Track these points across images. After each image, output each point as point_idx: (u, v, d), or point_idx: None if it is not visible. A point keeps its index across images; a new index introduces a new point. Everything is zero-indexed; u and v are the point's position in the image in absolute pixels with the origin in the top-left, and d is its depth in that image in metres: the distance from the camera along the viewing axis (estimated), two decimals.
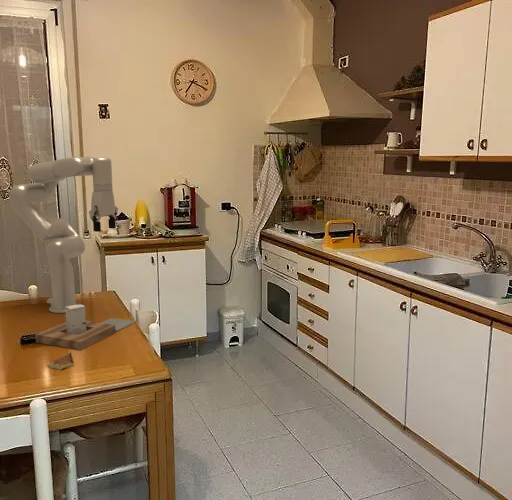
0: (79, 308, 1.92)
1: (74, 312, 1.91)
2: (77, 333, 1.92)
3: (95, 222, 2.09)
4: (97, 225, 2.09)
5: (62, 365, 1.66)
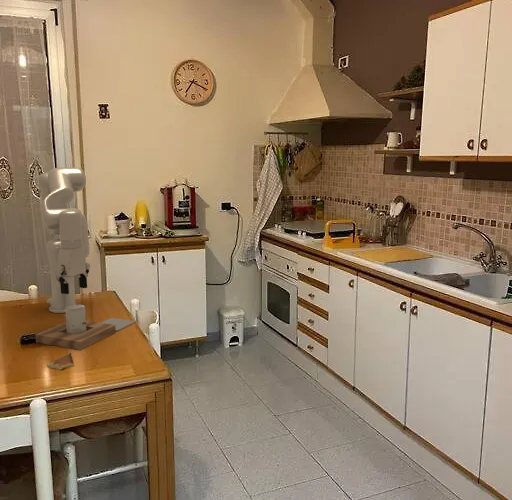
0: (79, 308, 1.92)
1: (74, 312, 1.91)
2: (77, 333, 1.92)
3: (62, 284, 1.85)
4: (65, 287, 1.85)
5: (62, 365, 1.66)
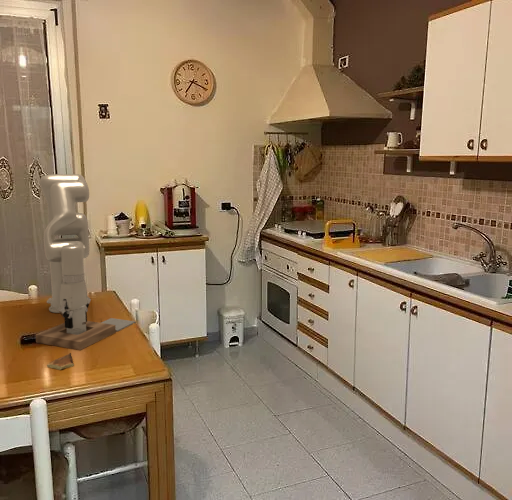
0: (79, 308, 1.92)
1: (74, 312, 1.91)
2: (77, 333, 1.92)
3: (66, 318, 1.89)
4: (69, 322, 1.89)
5: (62, 365, 1.66)
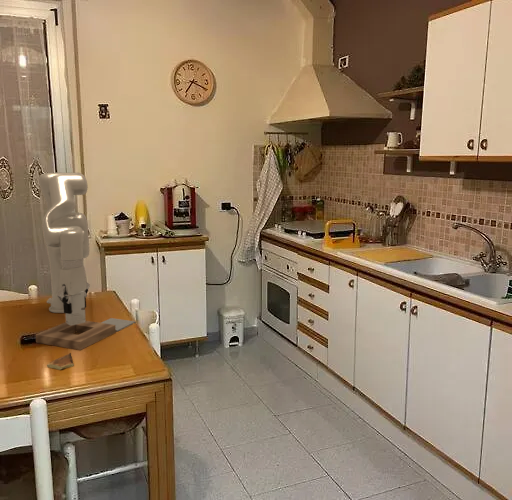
0: (78, 293, 1.91)
1: (73, 297, 1.90)
2: (76, 318, 1.92)
3: (65, 304, 1.88)
4: (68, 307, 1.88)
5: (62, 365, 1.66)
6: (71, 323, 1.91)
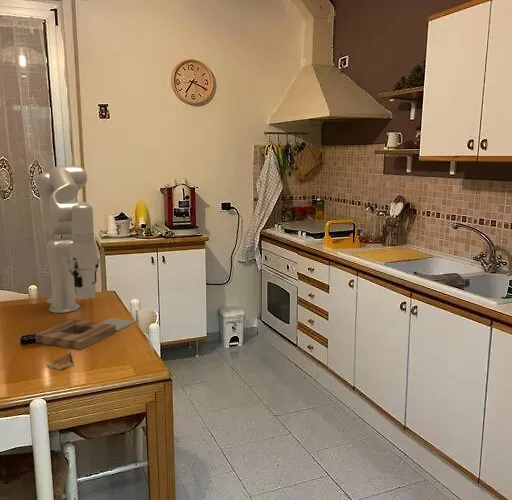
0: (88, 268, 1.93)
1: (83, 271, 1.92)
2: (86, 292, 1.94)
3: (76, 277, 1.90)
4: (78, 280, 1.91)
5: (62, 365, 1.66)
6: (82, 297, 1.93)
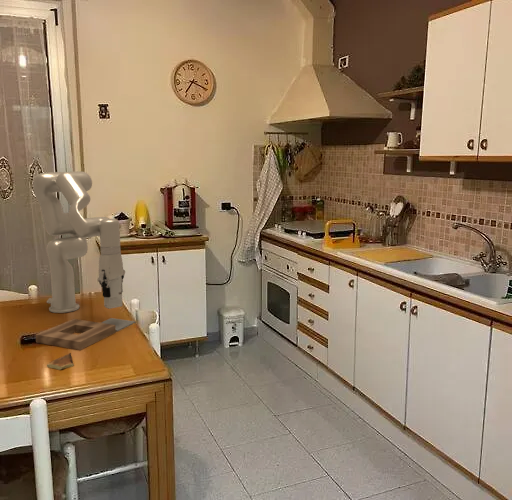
0: (116, 278, 2.04)
1: (111, 282, 2.03)
2: (114, 302, 2.05)
3: (104, 288, 2.01)
4: (106, 291, 2.02)
5: (62, 365, 1.66)
6: (110, 306, 2.04)
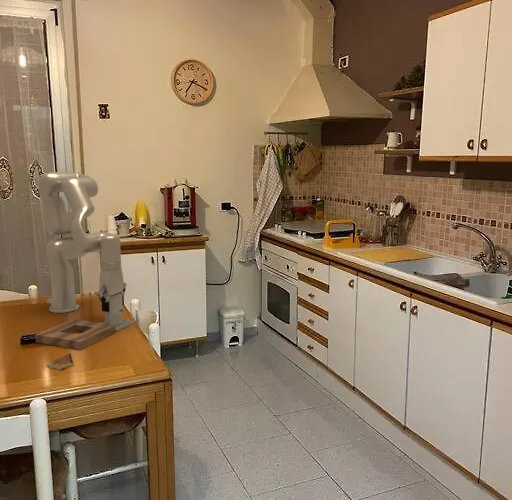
0: (117, 296, 2.06)
1: (112, 300, 2.05)
2: (115, 319, 2.07)
3: (104, 302, 2.01)
4: (106, 305, 2.02)
5: (62, 365, 1.66)
6: (111, 323, 2.06)
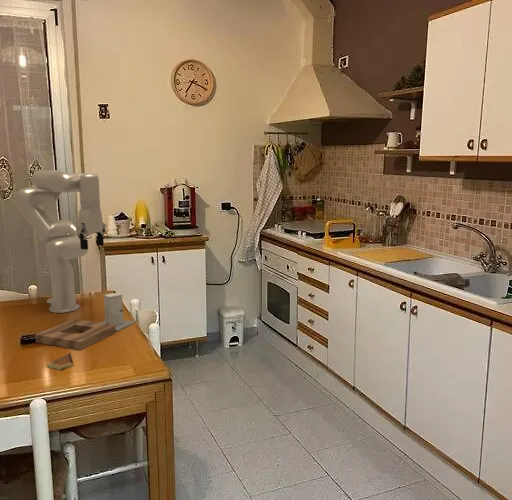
0: (117, 296, 2.06)
1: (112, 300, 2.05)
2: (115, 319, 2.07)
3: (82, 240, 2.05)
4: (84, 243, 2.06)
5: (62, 365, 1.66)
6: (111, 323, 2.06)
